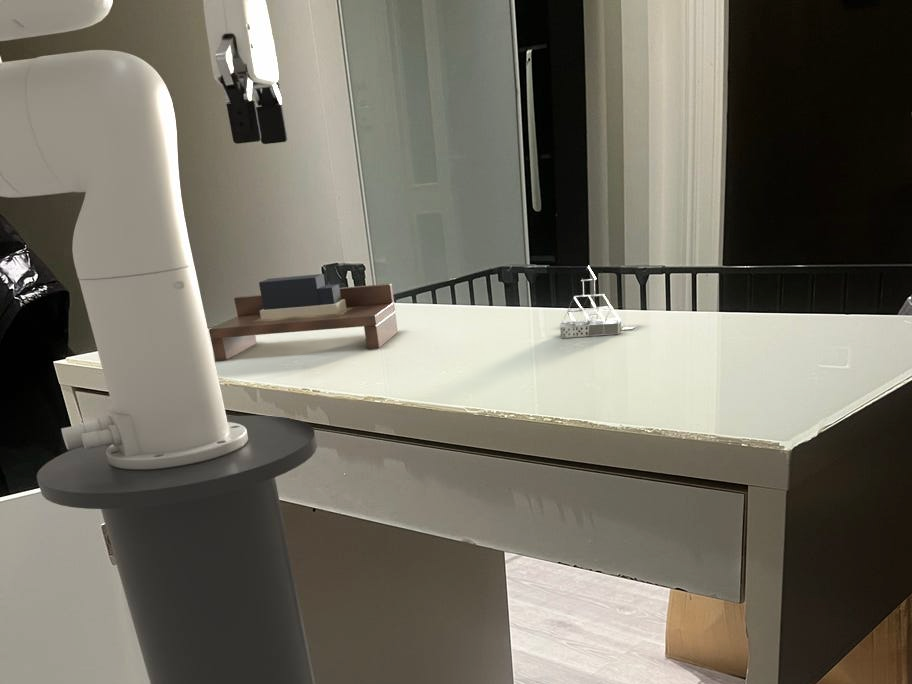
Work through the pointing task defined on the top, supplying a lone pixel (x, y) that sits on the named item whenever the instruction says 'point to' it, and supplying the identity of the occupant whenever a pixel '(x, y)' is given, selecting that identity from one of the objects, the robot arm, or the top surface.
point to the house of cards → (591, 325)
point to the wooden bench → (309, 320)
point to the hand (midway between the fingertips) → (261, 142)
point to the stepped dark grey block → (299, 297)
